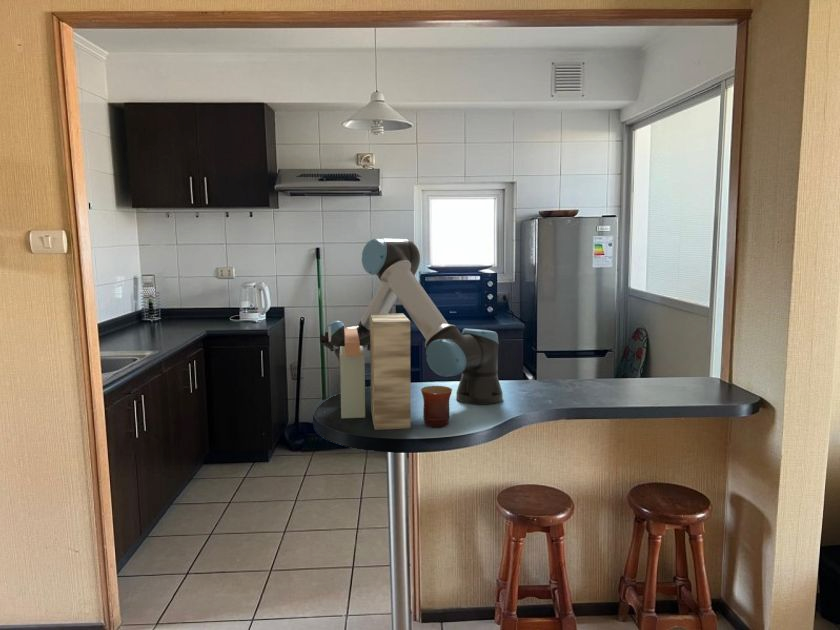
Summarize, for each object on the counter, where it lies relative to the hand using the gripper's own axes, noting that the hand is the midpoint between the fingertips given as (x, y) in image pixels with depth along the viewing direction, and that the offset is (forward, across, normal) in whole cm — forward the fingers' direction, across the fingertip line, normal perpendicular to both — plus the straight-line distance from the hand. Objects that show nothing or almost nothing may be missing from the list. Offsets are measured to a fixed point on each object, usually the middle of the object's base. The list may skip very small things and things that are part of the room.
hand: (351, 329), depth 190 cm
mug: (+10, -23, -33) cm, 42 cm away
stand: (+6, -10, -30) cm, 33 cm away
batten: (+3, 0, -7) cm, 8 cm away
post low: (-3, 0, -26) cm, 26 cm away
